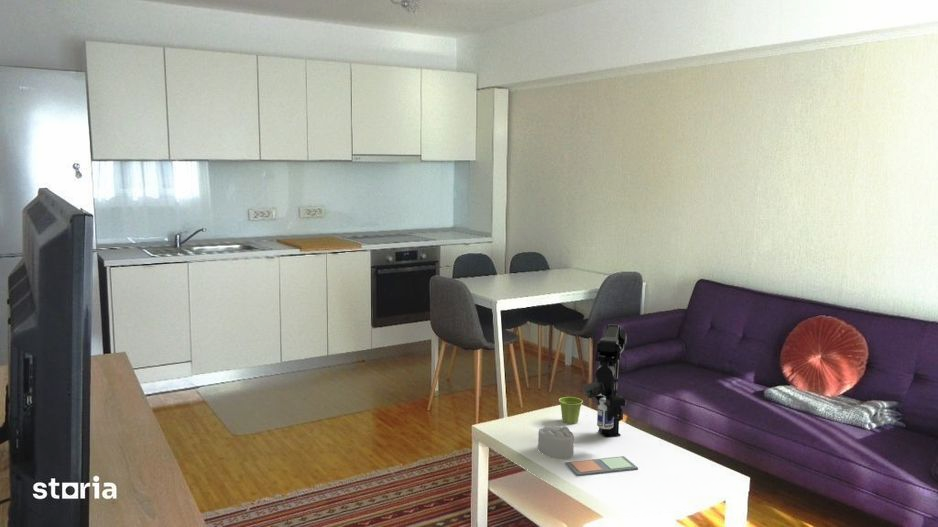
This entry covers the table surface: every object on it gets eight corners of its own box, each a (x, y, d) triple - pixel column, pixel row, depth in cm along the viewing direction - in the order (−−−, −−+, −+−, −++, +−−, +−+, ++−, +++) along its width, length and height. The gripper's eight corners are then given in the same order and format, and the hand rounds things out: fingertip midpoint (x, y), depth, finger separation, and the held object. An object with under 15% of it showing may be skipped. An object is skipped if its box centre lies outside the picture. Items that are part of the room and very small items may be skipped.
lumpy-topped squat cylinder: (556, 443, 260) (557, 420, 259) (580, 455, 249) (581, 431, 248) (534, 449, 254) (534, 426, 253) (557, 462, 243) (558, 437, 242)
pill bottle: (614, 425, 255) (615, 398, 254) (612, 430, 250) (613, 403, 248) (598, 423, 257) (599, 396, 256) (595, 428, 252) (596, 401, 250)
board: (623, 457, 248) (623, 455, 248) (638, 469, 238) (638, 467, 238) (565, 463, 242) (565, 461, 242) (577, 476, 232) (577, 473, 232)
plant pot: (557, 416, 288) (558, 396, 287) (581, 418, 287) (582, 397, 286) (558, 425, 279) (559, 403, 278) (582, 426, 278) (583, 404, 277)
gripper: (575, 369, 258) (573, 411, 260) (598, 384, 240) (596, 429, 242) (603, 367, 261) (601, 408, 263) (627, 382, 243) (625, 426, 245)
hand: (605, 417), depth 253 cm, fingers closed on pill bottle, 6 cm apart
